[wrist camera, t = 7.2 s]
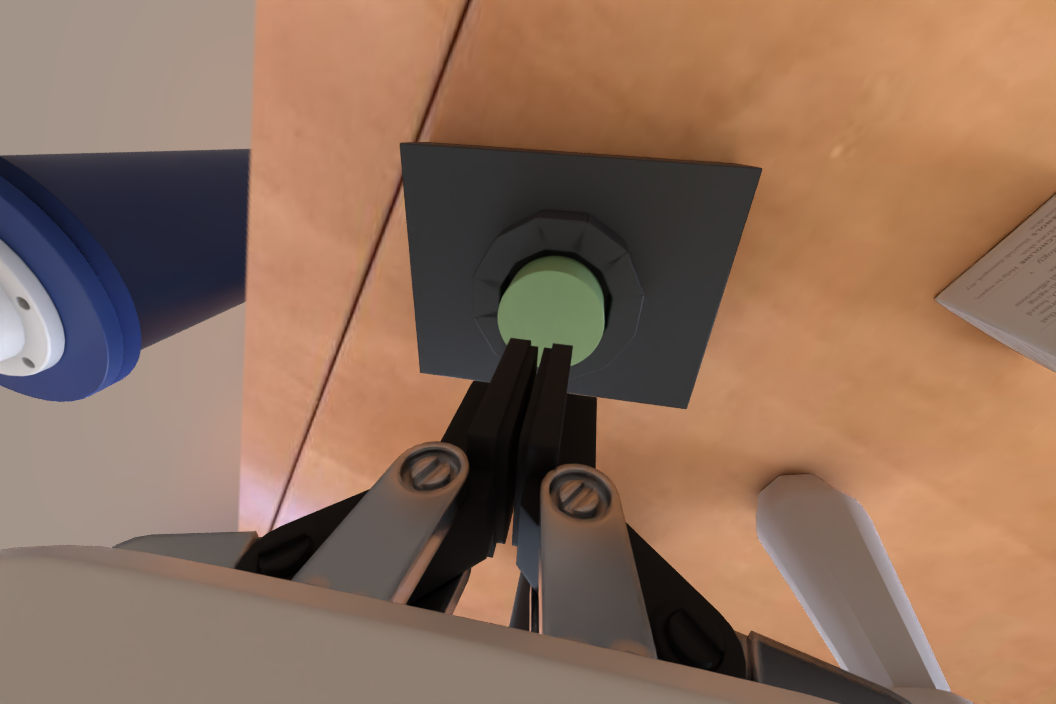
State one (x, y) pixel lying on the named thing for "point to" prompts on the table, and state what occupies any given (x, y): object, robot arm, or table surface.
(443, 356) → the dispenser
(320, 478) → the table surface
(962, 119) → the table surface
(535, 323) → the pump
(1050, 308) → the product box
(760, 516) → the salt shaker
